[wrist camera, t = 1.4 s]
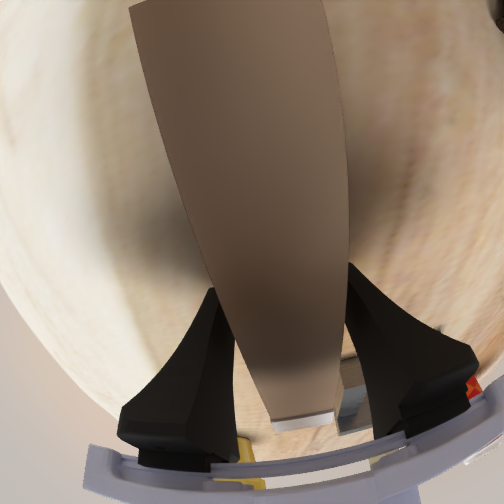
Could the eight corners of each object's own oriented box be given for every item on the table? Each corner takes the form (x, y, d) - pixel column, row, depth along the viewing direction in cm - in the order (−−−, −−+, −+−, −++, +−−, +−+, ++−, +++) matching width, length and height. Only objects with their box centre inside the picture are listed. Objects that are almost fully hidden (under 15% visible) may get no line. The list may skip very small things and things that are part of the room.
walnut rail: (279, 19, 7) (318, -33, 3) (318, 358, 18) (331, 422, 14) (179, 39, 7) (122, 6, 3) (269, 367, 19) (275, 432, 14)
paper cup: (479, 374, 29) (504, 438, 18) (444, 398, 32) (465, 463, 21) (476, 365, 26) (506, 441, 15) (435, 394, 29) (459, 470, 18)
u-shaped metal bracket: (439, 330, 18) (458, 367, 15) (413, 378, 23) (424, 408, 20) (337, 361, 19) (348, 407, 16) (331, 402, 24) (338, 436, 21)
